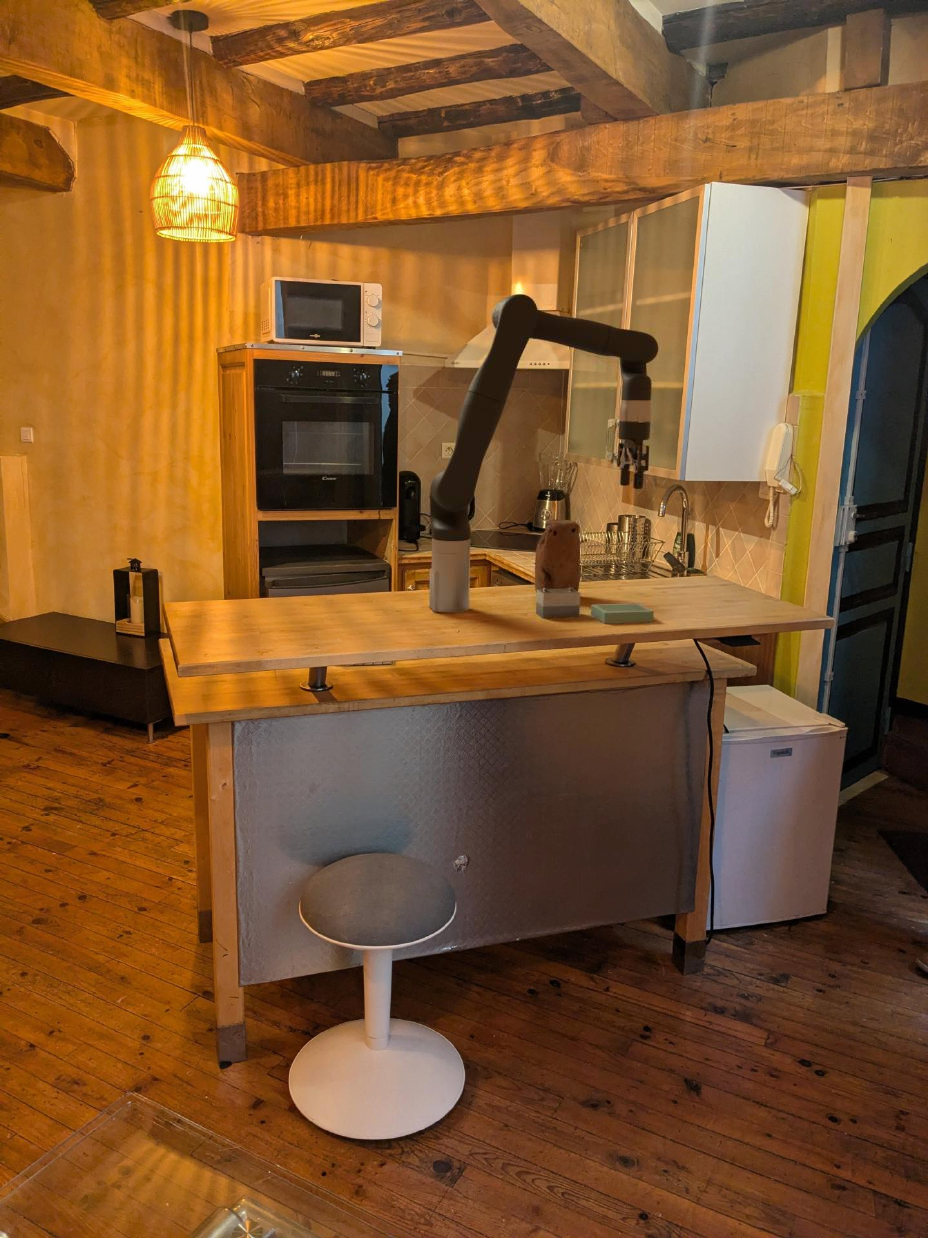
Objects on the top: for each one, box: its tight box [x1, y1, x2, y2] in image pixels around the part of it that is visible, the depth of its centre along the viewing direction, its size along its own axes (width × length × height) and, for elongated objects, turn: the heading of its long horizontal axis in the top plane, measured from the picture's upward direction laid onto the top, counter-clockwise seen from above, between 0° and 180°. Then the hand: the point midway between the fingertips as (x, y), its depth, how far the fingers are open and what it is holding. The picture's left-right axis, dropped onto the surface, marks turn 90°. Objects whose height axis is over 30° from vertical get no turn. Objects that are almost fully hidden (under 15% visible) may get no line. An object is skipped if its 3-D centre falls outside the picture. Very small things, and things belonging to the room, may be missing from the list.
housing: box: [535, 587, 581, 620], centre depth 225 cm, size 9×6×7 cm, turn 102°
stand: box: [590, 602, 655, 624], centre depth 223 cm, size 12×9×2 cm
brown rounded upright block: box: [534, 519, 581, 595], centre depth 244 cm, size 11×8×20 cm
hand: (631, 487), depth 233 cm, fingers open, 8 cm apart
